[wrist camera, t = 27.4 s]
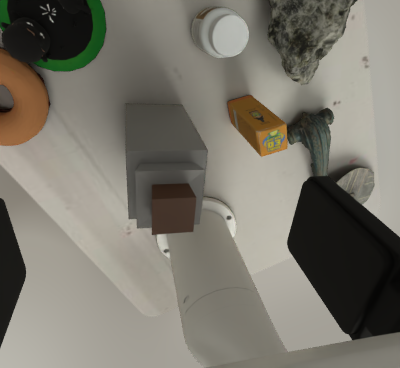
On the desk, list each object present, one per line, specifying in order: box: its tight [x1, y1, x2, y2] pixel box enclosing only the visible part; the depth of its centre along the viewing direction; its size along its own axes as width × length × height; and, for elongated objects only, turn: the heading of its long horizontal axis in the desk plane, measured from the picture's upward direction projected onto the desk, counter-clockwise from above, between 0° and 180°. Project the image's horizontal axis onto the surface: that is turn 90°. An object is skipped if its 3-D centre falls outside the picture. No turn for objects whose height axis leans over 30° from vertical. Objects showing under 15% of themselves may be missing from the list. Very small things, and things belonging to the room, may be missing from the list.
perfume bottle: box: [126, 104, 208, 235], centre depth 30 cm, size 7×7×18 cm
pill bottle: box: [191, 7, 249, 58], centre depth 30 cm, size 4×4×8 cm
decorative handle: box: [287, 108, 334, 176], centre depth 42 cm, size 15×7×5 cm, turn 27°
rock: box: [267, 0, 357, 85], centre depth 31 cm, size 12×8×10 cm
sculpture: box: [336, 168, 374, 205], centre depth 49 cm, size 12×9×8 cm
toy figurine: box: [0, 0, 106, 71], centre depth 27 cm, size 10×10×6 cm
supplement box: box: [227, 95, 287, 157], centre depth 34 cm, size 3×3×10 cm
